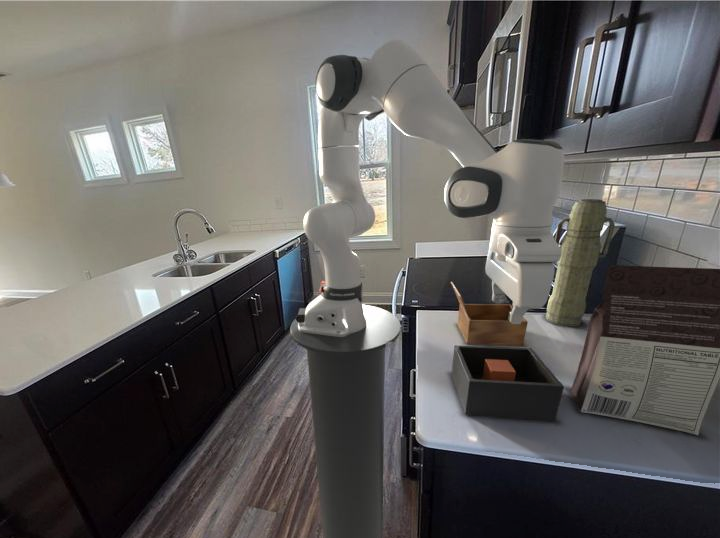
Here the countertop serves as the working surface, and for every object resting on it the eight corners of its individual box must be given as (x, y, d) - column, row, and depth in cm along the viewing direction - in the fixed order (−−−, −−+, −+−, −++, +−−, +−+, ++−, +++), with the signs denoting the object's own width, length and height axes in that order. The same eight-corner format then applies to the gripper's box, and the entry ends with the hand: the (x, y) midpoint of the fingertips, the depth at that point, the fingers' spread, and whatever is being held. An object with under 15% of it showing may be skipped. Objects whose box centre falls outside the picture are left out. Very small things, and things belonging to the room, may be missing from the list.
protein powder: (672, 405, 61) (731, 262, 51) (701, 438, 53) (777, 279, 43) (567, 387, 67) (601, 258, 57) (579, 414, 60) (620, 272, 50)
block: (487, 398, 64) (491, 370, 62) (481, 384, 68) (484, 359, 66) (510, 399, 64) (516, 372, 61) (503, 386, 68) (508, 359, 65)
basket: (465, 414, 61) (469, 381, 59) (451, 374, 74) (454, 345, 71) (555, 421, 58) (564, 386, 56) (525, 378, 71) (531, 347, 68)
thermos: (537, 312, 102) (560, 199, 90) (583, 317, 97) (614, 197, 84) (540, 323, 95) (565, 202, 83) (590, 329, 90) (625, 200, 77)
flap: (470, 318, 84) (468, 318, 84) (460, 301, 95) (459, 302, 95) (461, 296, 82) (459, 296, 82) (452, 281, 93) (450, 282, 93)
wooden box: (466, 343, 86) (469, 320, 84) (457, 324, 97) (459, 303, 95) (523, 345, 84) (527, 321, 81) (507, 325, 95) (510, 304, 92)
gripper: (482, 230, 66) (473, 292, 71) (520, 254, 47) (505, 335, 52) (515, 229, 65) (504, 293, 70) (568, 253, 46) (547, 337, 51)
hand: (505, 311), depth 61 cm, fingers open, 8 cm apart
